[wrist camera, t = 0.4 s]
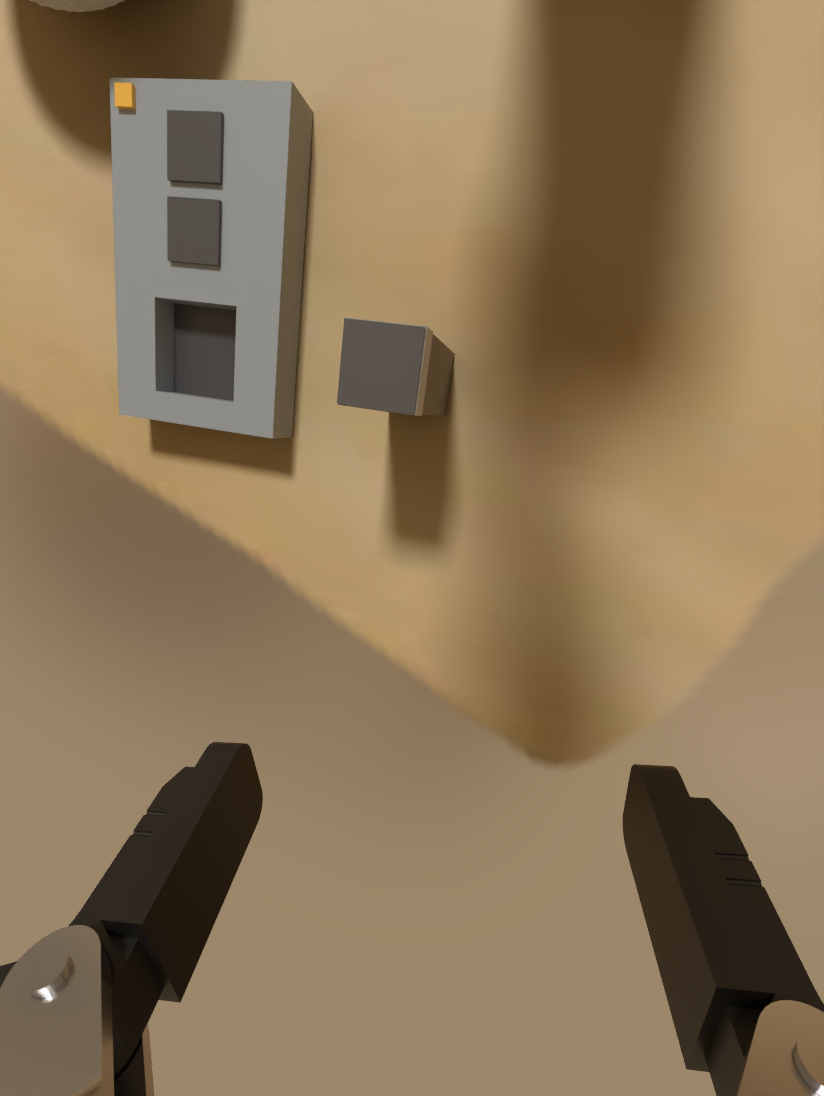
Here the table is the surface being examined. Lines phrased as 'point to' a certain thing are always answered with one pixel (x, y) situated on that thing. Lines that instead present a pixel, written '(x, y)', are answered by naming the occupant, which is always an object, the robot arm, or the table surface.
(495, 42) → the table surface
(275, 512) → the table surface
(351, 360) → the plug
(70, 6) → the cereal bowl
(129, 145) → the power strip
